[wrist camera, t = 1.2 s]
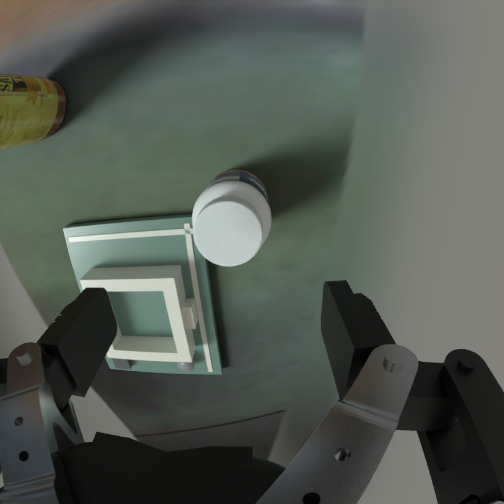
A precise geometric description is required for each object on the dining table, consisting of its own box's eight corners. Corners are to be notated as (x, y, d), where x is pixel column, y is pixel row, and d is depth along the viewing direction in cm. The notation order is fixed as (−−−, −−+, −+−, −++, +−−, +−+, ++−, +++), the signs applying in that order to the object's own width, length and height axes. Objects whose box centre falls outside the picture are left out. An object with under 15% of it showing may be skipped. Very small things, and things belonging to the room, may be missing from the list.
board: (68, 225, 26) (49, 237, 23) (202, 213, 26) (194, 226, 23) (112, 363, 33) (103, 382, 30) (222, 368, 33) (220, 390, 30)
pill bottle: (275, 218, 26) (286, 262, 18) (218, 237, 27) (204, 288, 19) (255, 159, 24) (256, 176, 16) (196, 181, 25) (168, 209, 17)
